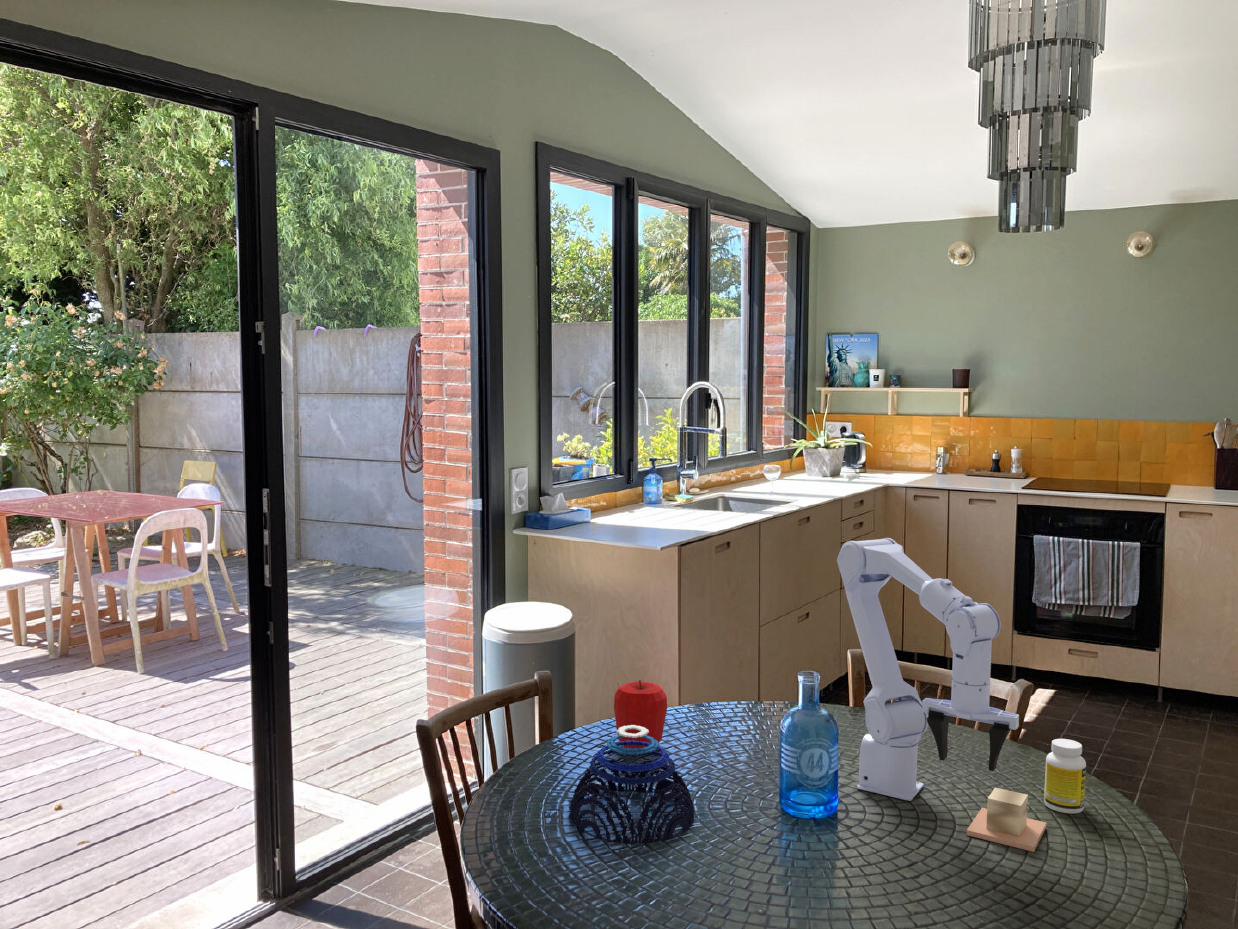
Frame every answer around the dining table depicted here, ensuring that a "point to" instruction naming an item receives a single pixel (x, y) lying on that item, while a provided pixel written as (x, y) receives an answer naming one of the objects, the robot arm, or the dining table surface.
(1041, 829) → the coaster
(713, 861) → the dining table surface
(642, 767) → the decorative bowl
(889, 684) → the robot arm
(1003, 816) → the maple cube
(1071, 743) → the pill bottle
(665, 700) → the apple
